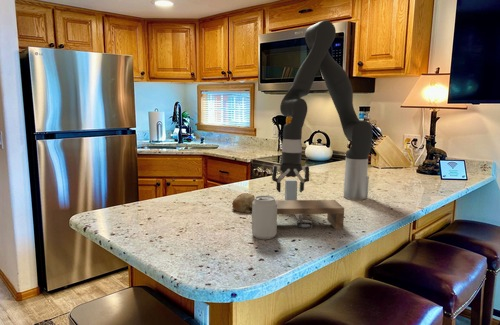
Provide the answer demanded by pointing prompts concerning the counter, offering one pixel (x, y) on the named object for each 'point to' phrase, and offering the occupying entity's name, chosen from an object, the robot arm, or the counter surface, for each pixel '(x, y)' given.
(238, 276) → the counter surface
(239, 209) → the bread roll
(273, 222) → the can
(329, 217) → the riser
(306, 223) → the disc
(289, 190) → the mallet tool
